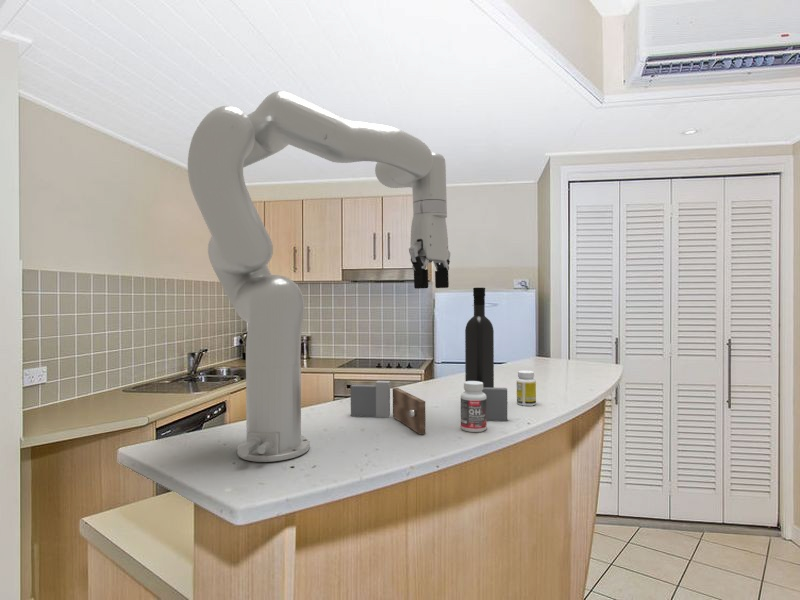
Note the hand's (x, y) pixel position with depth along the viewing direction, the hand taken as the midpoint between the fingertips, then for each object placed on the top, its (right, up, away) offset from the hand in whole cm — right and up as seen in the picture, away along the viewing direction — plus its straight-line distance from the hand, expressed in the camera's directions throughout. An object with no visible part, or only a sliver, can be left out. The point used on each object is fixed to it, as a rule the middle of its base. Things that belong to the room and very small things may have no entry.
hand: (432, 288), depth 101 cm
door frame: (-1, -30, +3) cm, 30 cm away
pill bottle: (+8, -30, -6) cm, 32 cm away
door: (-6, -30, -4) cm, 30 cm away
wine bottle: (+13, -30, +13) cm, 35 cm away
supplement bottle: (+25, -30, +15) cm, 42 cm away
